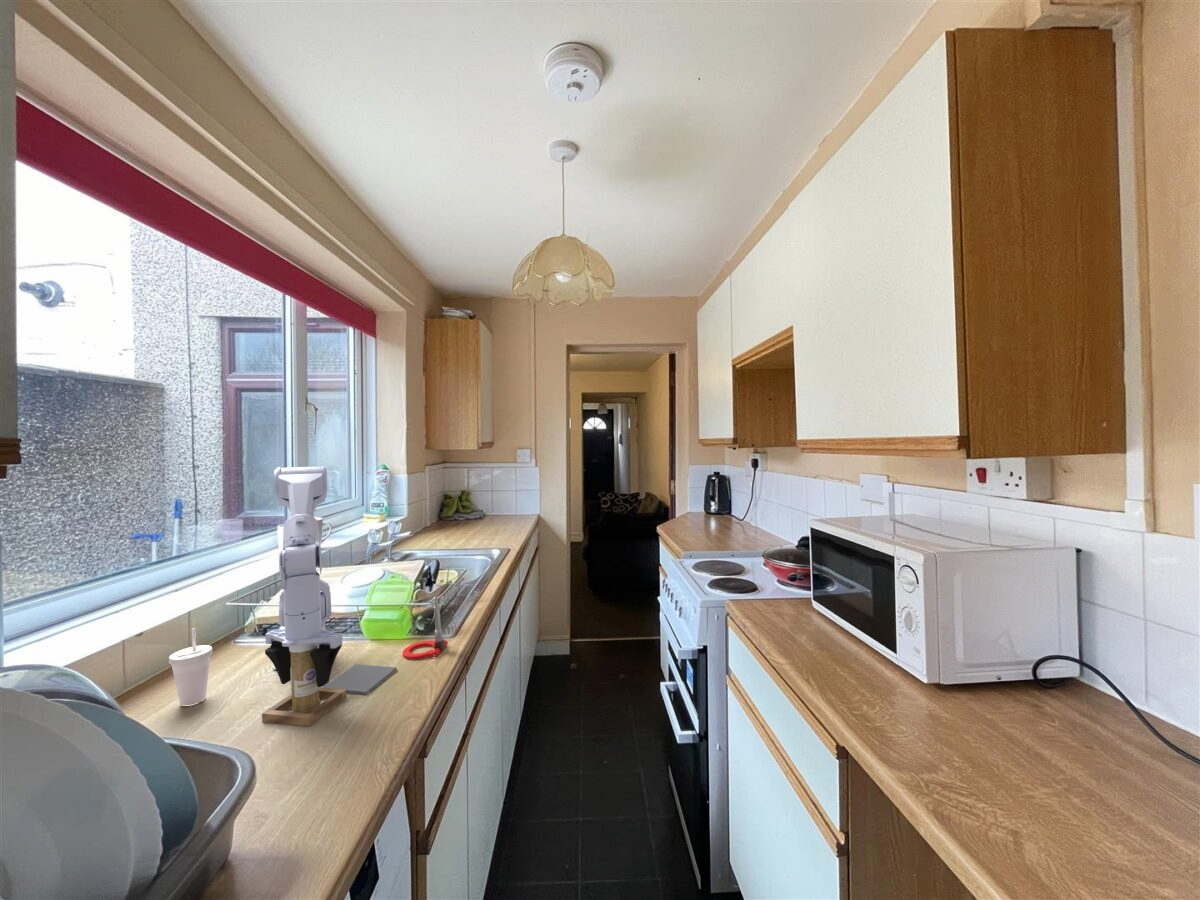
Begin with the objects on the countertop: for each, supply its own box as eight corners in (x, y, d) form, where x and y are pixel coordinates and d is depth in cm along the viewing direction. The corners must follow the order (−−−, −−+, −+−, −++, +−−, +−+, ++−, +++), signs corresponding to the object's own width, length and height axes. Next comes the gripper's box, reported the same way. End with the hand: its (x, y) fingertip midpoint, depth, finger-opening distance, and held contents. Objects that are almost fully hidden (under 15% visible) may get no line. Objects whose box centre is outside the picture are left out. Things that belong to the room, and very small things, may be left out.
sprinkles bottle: (304, 718, 85) (301, 643, 84) (285, 714, 86) (282, 641, 86) (326, 704, 89) (323, 633, 89) (307, 700, 91) (305, 631, 90)
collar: (262, 721, 84) (261, 713, 84) (304, 693, 93) (303, 685, 93) (308, 726, 82) (308, 718, 82) (346, 697, 91) (346, 689, 91)
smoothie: (221, 696, 92) (218, 626, 92) (181, 714, 87) (178, 638, 86) (203, 690, 95) (200, 621, 95) (163, 706, 89) (160, 633, 89)
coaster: (321, 691, 94) (321, 688, 94) (355, 666, 104) (355, 664, 104) (366, 694, 92) (366, 691, 92) (396, 669, 102) (396, 667, 102)
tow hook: (396, 662, 107) (436, 660, 106) (391, 605, 107) (432, 603, 106) (412, 646, 115) (449, 644, 115) (408, 593, 115) (446, 591, 114)
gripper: (249, 616, 85) (252, 691, 85) (320, 620, 82) (323, 697, 82) (282, 602, 91) (285, 672, 92) (349, 606, 89) (351, 677, 89)
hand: (305, 682), depth 88 cm, fingers open, 7 cm apart
